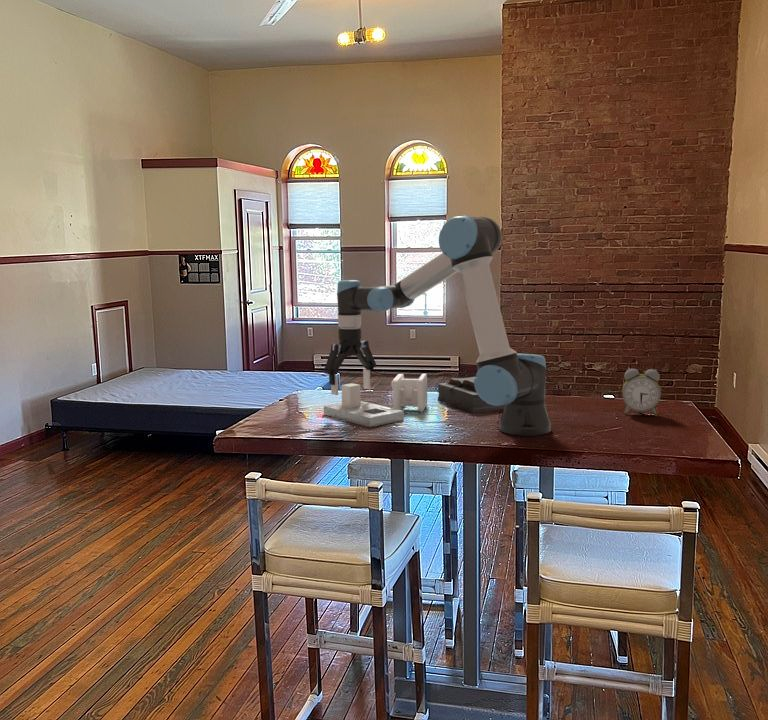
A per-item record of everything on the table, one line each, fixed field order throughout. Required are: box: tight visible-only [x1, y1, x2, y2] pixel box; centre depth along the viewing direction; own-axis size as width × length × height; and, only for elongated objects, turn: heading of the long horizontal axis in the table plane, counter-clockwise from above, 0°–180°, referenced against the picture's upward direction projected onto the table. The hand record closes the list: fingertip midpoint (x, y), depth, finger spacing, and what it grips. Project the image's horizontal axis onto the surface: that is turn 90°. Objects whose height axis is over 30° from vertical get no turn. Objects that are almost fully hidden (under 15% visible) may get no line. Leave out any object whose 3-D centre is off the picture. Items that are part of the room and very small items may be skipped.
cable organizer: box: [390, 373, 428, 413], centre depth 248 cm, size 15×11×12 cm
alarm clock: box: [621, 368, 662, 417], centre depth 235 cm, size 12×7×15 cm, turn 72°
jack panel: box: [323, 400, 405, 428], centre depth 238 cm, size 24×14×3 cm, turn 41°
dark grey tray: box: [437, 376, 505, 414], centre depth 256 cm, size 23×27×10 cm
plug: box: [341, 382, 362, 408], centre depth 242 cm, size 6×4×10 cm
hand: (351, 391), depth 241 cm, fingers open, 13 cm apart
